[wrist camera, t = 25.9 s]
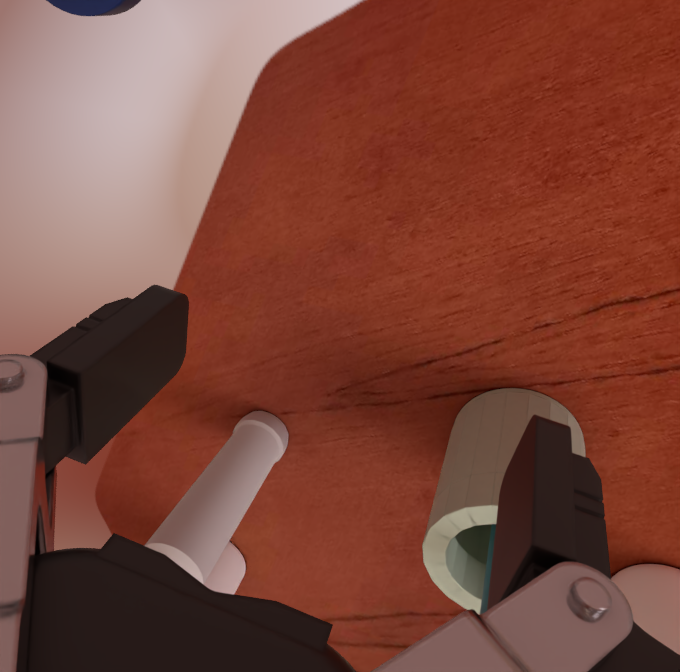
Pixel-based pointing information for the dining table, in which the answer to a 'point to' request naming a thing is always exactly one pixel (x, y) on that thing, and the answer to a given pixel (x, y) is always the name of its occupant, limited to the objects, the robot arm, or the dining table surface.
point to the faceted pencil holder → (480, 485)
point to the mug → (227, 571)
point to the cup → (653, 600)
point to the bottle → (221, 495)
